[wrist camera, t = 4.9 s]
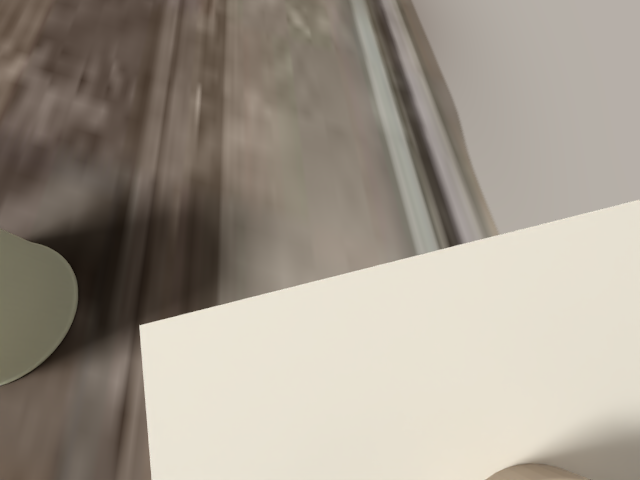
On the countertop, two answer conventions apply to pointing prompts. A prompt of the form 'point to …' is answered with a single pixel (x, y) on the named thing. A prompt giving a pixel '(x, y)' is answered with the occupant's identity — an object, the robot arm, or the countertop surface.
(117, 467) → the countertop surface
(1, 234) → the can
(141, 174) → the countertop surface
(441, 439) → the knobbed white block
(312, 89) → the countertop surface
